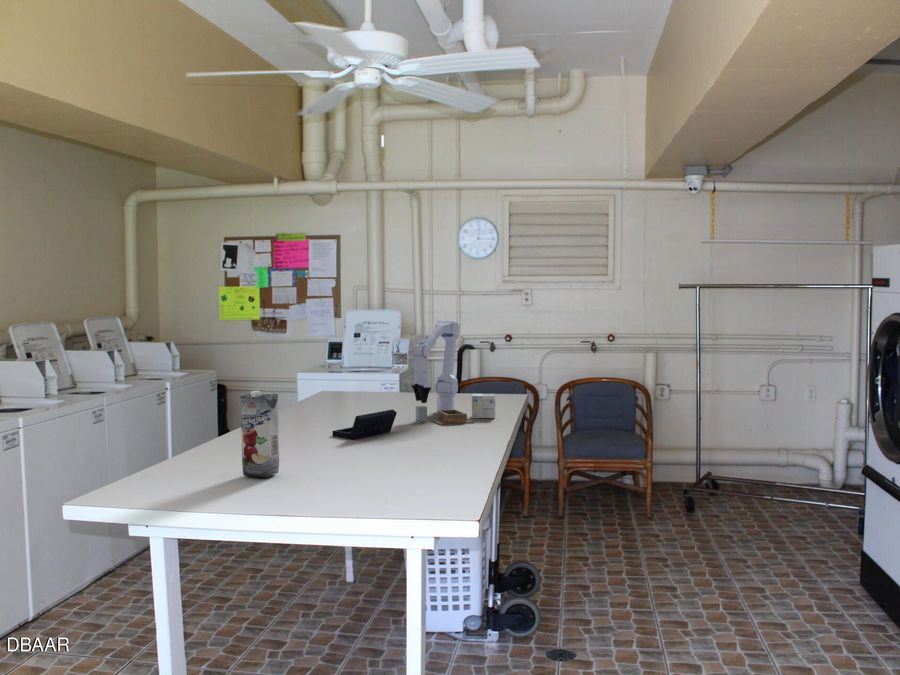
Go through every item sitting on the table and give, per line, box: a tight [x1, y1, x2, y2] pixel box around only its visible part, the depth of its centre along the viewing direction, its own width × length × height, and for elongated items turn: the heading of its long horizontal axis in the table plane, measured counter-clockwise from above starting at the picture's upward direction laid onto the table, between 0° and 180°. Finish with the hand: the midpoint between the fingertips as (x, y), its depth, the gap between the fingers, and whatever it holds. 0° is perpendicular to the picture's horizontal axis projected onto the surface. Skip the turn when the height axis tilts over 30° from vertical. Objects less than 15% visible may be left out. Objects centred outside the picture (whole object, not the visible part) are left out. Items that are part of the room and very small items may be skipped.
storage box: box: [331, 409, 398, 441], centre depth 299 cm, size 21×16×10 cm
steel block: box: [415, 405, 428, 423], centre depth 327 cm, size 4×4×7 cm
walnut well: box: [429, 409, 475, 426], centre depth 328 cm, size 14×16×4 cm
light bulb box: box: [471, 393, 496, 420], centre depth 337 cm, size 11×7×11 cm, turn 84°
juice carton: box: [239, 390, 280, 479], centre depth 233 cm, size 9×10×27 cm
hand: (421, 401), depth 327 cm, fingers open, 7 cm apart
